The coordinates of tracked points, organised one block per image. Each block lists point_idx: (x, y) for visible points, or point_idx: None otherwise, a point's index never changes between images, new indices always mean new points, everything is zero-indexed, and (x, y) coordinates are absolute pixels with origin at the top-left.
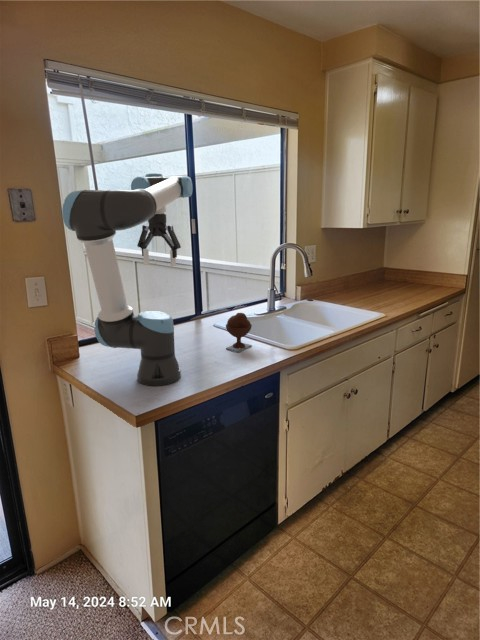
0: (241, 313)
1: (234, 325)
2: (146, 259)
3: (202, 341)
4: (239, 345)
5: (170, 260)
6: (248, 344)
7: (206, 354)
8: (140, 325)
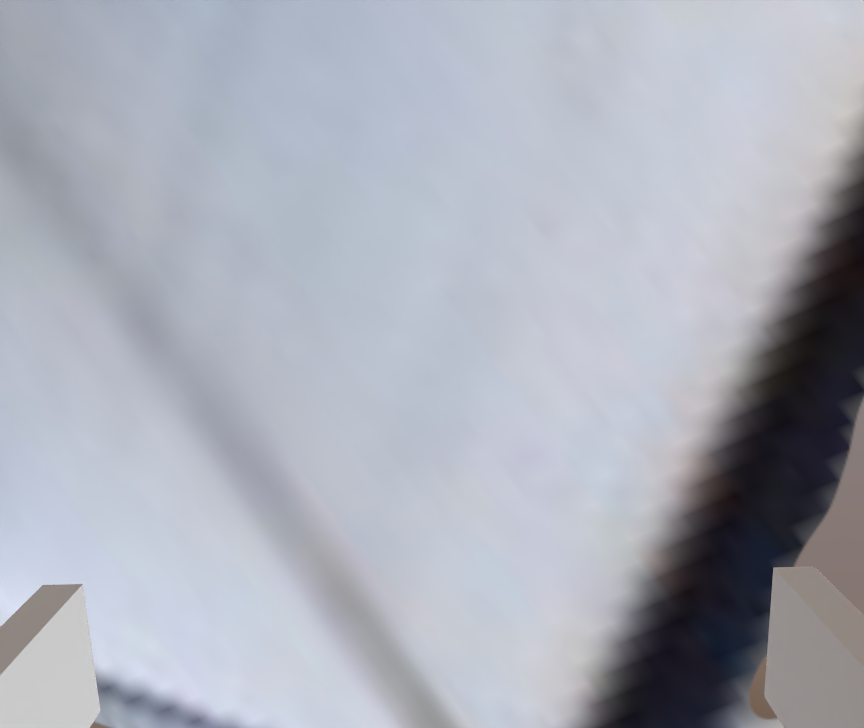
0: None
1: None
2: (823, 681)
3: (207, 455)
4: None
5: (14, 654)
6: None
7: (27, 242)
8: None
